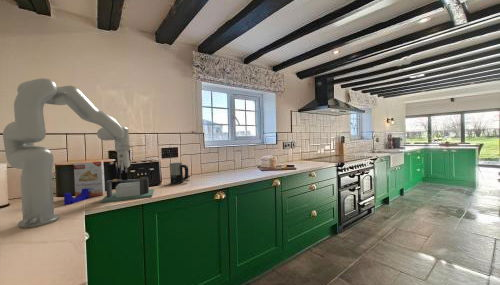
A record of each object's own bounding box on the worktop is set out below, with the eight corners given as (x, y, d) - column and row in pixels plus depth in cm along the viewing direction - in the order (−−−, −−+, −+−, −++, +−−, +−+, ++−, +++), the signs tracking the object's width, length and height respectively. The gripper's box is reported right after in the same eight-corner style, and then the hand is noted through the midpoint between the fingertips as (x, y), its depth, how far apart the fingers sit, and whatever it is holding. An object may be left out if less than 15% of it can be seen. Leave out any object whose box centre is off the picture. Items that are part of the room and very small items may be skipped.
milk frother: (169, 184, 164) (168, 164, 163) (172, 180, 179) (171, 161, 179) (189, 183, 166) (188, 162, 166) (190, 179, 182) (189, 160, 182)
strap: (144, 180, 137) (144, 179, 137) (143, 181, 134) (143, 179, 134) (113, 180, 132) (114, 179, 132) (112, 181, 129) (112, 180, 129)
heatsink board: (151, 197, 129) (150, 179, 129) (100, 203, 120) (99, 184, 120) (153, 190, 146) (152, 174, 146) (109, 195, 137) (108, 178, 137)
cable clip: (82, 198, 132) (81, 188, 132) (89, 198, 132) (88, 188, 131) (62, 204, 121) (61, 193, 120) (69, 205, 120) (68, 193, 120)
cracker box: (75, 198, 132) (73, 163, 132) (78, 196, 138) (76, 162, 137) (103, 195, 137) (101, 161, 137) (105, 193, 143) (103, 160, 142)
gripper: (127, 148, 126) (130, 181, 127) (131, 147, 140) (133, 176, 141) (112, 149, 124) (114, 182, 125) (117, 148, 138) (120, 177, 139)
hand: (124, 179), depth 133 cm, fingers closed
